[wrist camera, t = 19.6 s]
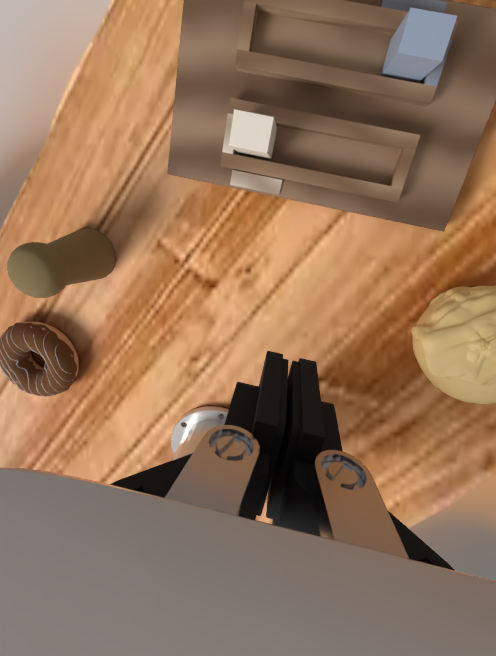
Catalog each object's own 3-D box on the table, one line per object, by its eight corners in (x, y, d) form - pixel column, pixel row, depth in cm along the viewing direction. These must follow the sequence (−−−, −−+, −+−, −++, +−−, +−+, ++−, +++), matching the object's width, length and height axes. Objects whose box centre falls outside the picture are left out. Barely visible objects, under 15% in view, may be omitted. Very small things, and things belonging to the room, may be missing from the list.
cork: (66, 224, 41) (-10, 235, 31) (115, 232, 40) (55, 246, 30) (68, 274, 43) (-2, 300, 33) (115, 283, 43) (59, 311, 33)
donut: (89, 331, 46) (71, 343, 42) (81, 396, 50) (64, 412, 46) (11, 306, 46) (-13, 316, 42) (10, 373, 50) (-13, 388, 46)
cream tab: (271, 159, 34) (266, 153, 29) (238, 152, 34) (228, 145, 29) (277, 128, 33) (273, 117, 28) (243, 121, 33) (234, 109, 28)
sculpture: (491, 253, 36) (566, 277, 26) (527, 347, 39) (606, 400, 29) (385, 304, 40) (415, 342, 30) (426, 387, 43) (465, 446, 33)
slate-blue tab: (417, 83, 30) (442, 61, 25) (380, 76, 30) (397, 52, 25) (429, 46, 29) (457, 15, 24) (390, 39, 29) (410, 7, 24)
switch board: (436, 229, 36) (449, 232, 33) (173, 174, 37) (162, 173, 34) (514, 25, 30) (540, 6, 27) (194, -32, 31) (183, -57, 28)
